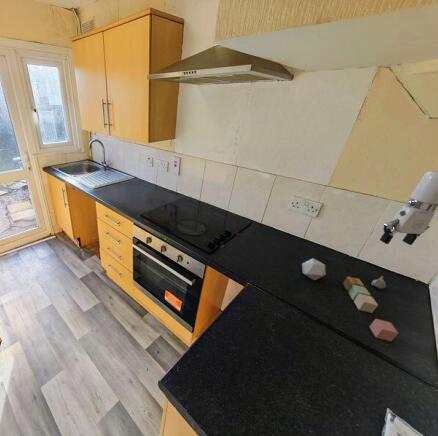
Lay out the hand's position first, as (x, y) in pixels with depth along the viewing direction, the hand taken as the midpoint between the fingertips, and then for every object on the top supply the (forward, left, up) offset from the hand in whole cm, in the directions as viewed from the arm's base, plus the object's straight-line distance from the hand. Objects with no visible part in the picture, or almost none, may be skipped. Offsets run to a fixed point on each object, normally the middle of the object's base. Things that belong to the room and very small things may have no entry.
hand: (395, 242), depth 92 cm
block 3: (+9, +18, -22) cm, 30 cm away
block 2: (+9, +13, -22) cm, 27 cm away
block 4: (+9, +31, -22) cm, 39 cm away
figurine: (-3, +2, -22) cm, 23 cm away
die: (+24, +5, -22) cm, 33 cm away
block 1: (+9, +7, -22) cm, 25 cm away
